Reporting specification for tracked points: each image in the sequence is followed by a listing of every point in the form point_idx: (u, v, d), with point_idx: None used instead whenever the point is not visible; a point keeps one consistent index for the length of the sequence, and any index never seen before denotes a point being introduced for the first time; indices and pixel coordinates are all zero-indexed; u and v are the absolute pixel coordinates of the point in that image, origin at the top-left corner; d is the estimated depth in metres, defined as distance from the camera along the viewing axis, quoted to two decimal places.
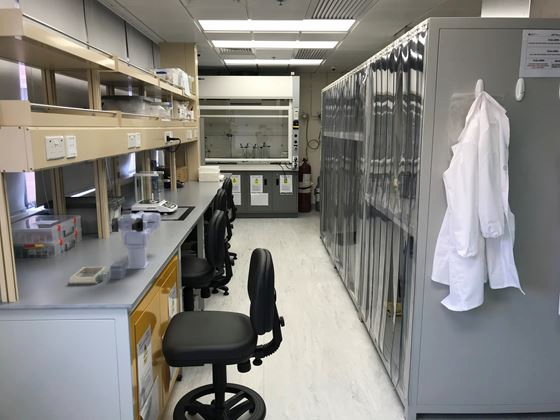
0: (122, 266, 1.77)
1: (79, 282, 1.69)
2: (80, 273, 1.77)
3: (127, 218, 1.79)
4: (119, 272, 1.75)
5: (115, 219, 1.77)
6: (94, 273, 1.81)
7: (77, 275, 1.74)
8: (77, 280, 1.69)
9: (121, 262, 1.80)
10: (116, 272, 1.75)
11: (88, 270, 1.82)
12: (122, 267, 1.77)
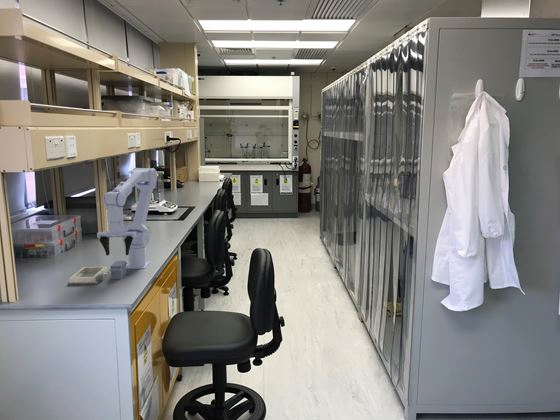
0: (122, 266, 1.77)
1: (79, 282, 1.69)
2: (80, 273, 1.77)
3: None
4: (119, 272, 1.75)
5: (104, 241, 1.74)
6: (94, 273, 1.81)
7: (77, 275, 1.74)
8: (77, 280, 1.69)
9: (121, 262, 1.80)
10: (116, 272, 1.75)
11: (88, 270, 1.82)
12: (122, 267, 1.77)
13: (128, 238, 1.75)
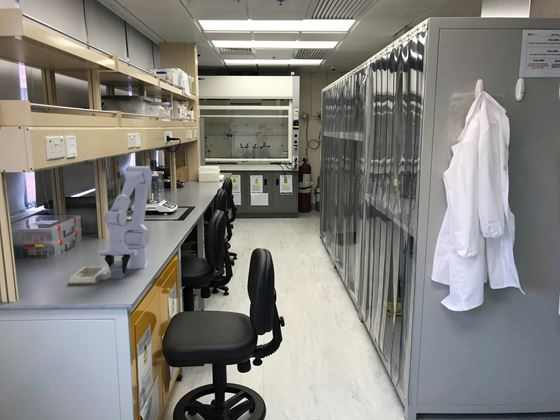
0: (122, 266, 1.77)
1: (79, 282, 1.69)
2: (80, 273, 1.77)
3: None
4: (119, 272, 1.75)
5: (109, 260, 1.75)
6: (94, 273, 1.81)
7: (77, 275, 1.74)
8: (77, 280, 1.69)
9: (121, 262, 1.80)
10: (116, 272, 1.75)
11: (88, 270, 1.82)
12: (122, 267, 1.77)
13: (129, 257, 1.76)
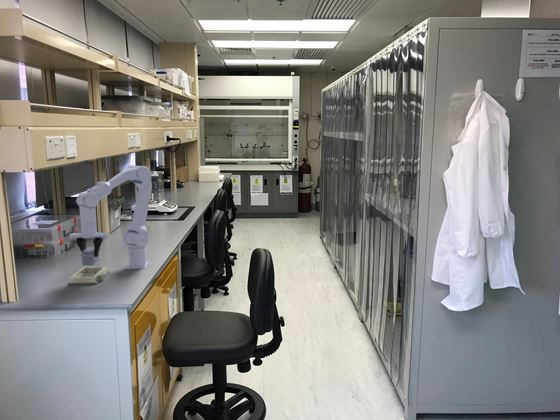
0: (94, 252, 1.73)
1: (79, 282, 1.69)
2: (80, 273, 1.77)
3: None
4: (90, 258, 1.72)
5: (80, 242, 1.72)
6: (94, 273, 1.81)
7: (77, 275, 1.74)
8: (77, 280, 1.69)
9: (93, 248, 1.76)
10: (87, 258, 1.71)
11: (88, 270, 1.82)
12: (94, 253, 1.73)
13: (101, 239, 1.73)
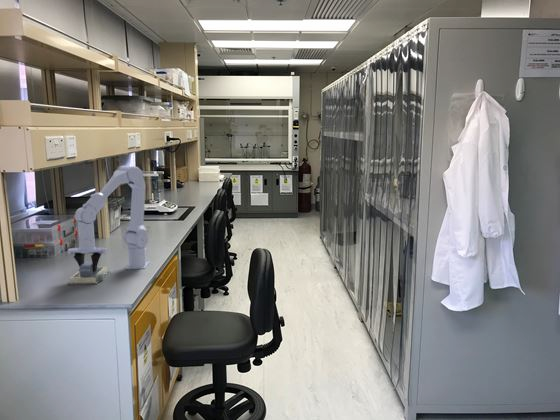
0: (92, 266, 1.74)
1: (79, 282, 1.69)
2: None
3: None
4: (89, 272, 1.72)
5: (78, 258, 1.72)
6: None
7: (77, 275, 1.74)
8: (77, 280, 1.69)
9: (91, 262, 1.77)
10: (85, 272, 1.72)
11: None
12: (92, 267, 1.74)
13: (99, 255, 1.73)
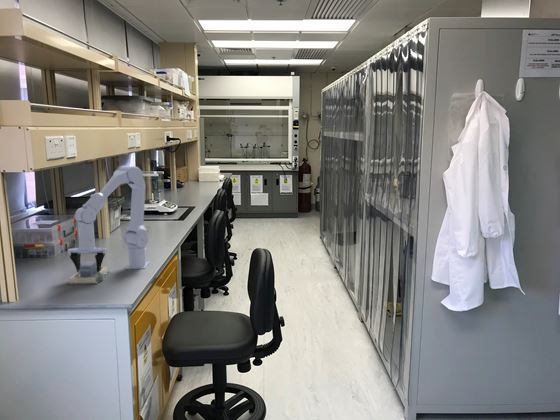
0: (92, 266, 1.74)
1: (79, 282, 1.69)
2: None
3: None
4: (89, 272, 1.72)
5: (74, 258, 1.72)
6: None
7: (77, 275, 1.74)
8: (77, 280, 1.69)
9: (91, 262, 1.77)
10: (85, 272, 1.72)
11: None
12: (92, 267, 1.74)
13: (99, 255, 1.73)
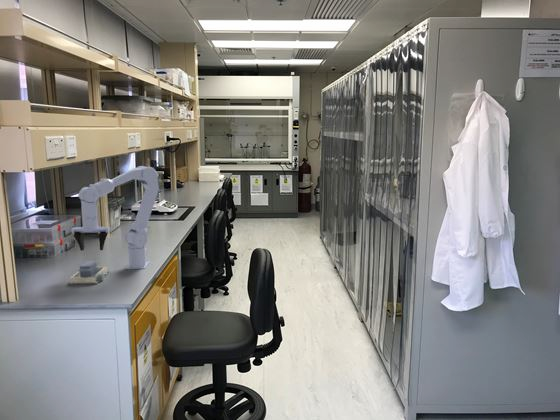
0: (92, 266, 1.74)
1: (79, 282, 1.69)
2: None
3: None
4: (89, 272, 1.72)
5: (78, 236, 1.76)
6: None
7: (77, 275, 1.74)
8: (77, 280, 1.69)
9: (91, 262, 1.77)
10: (85, 272, 1.72)
11: None
12: (92, 267, 1.74)
13: (102, 233, 1.77)
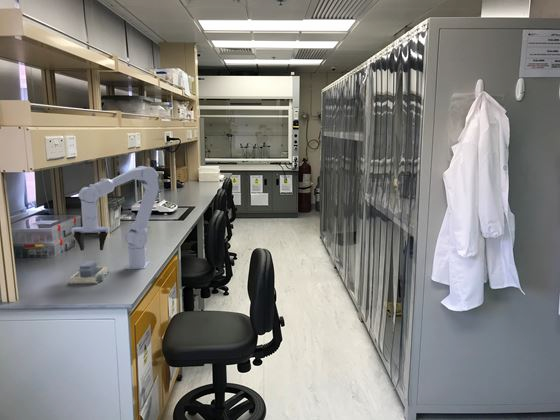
0: (92, 266, 1.74)
1: (79, 282, 1.69)
2: None
3: None
4: (89, 272, 1.72)
5: (78, 236, 1.76)
6: None
7: (77, 275, 1.74)
8: (77, 280, 1.69)
9: (91, 262, 1.77)
10: (85, 272, 1.72)
11: None
12: (92, 267, 1.74)
13: (102, 233, 1.77)
